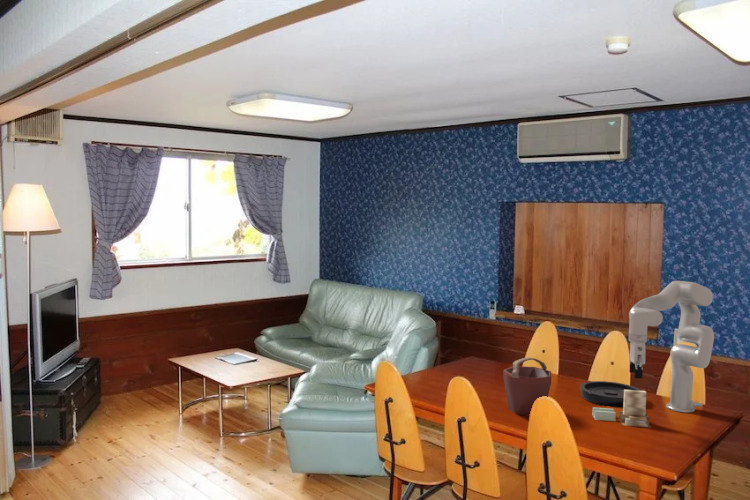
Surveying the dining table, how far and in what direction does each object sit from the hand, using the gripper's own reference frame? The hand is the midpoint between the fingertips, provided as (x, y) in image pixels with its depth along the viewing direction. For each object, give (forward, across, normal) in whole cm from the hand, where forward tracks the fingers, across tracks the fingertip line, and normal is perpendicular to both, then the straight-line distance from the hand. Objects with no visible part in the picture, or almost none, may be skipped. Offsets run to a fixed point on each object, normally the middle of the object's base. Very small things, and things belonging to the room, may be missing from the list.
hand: (635, 375), depth 282 cm
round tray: (+22, +37, +3) cm, 43 cm away
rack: (+22, -1, 0) cm, 22 cm away
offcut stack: (+21, -4, 0) cm, 22 cm away
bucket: (+22, +8, +47) cm, 53 cm away
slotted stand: (+22, +3, +12) cm, 25 cm away
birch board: (+21, 0, 0) cm, 21 cm away
